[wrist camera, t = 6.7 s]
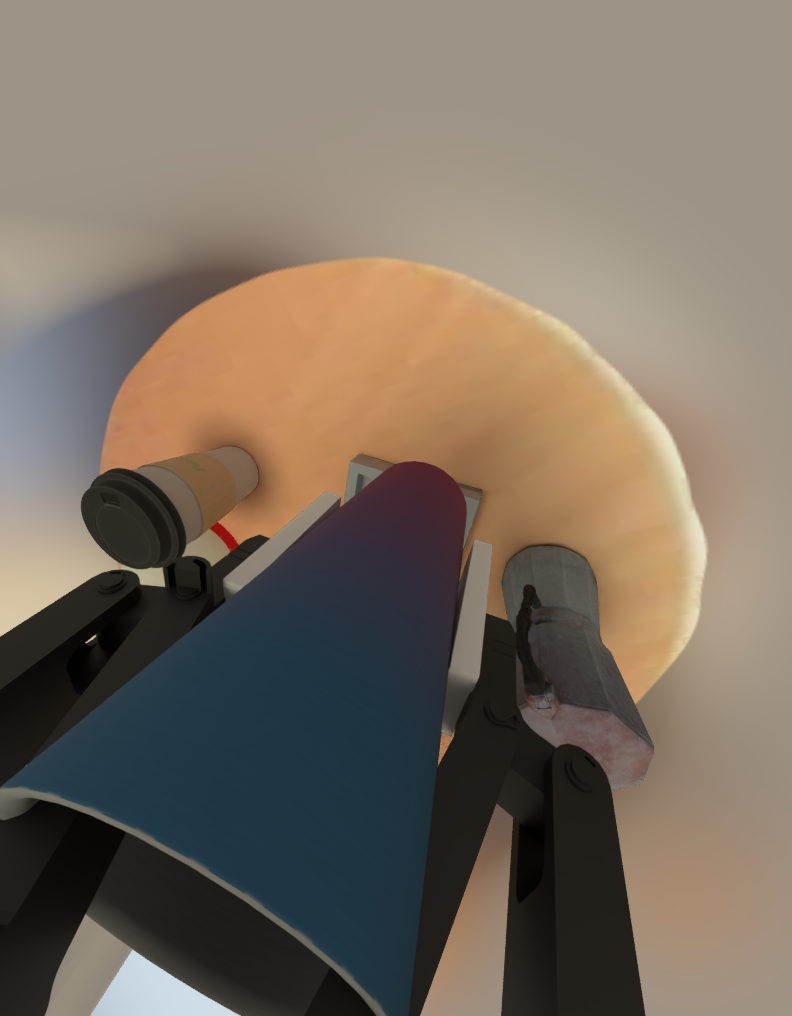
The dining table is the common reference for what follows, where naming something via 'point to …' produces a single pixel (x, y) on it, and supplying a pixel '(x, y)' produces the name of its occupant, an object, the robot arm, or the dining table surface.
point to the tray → (370, 468)
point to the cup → (282, 764)
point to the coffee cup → (165, 504)
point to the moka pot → (571, 664)
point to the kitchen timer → (194, 553)
